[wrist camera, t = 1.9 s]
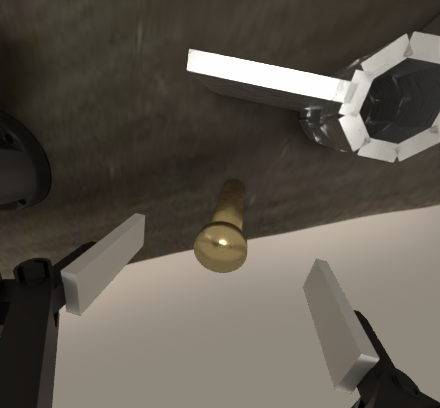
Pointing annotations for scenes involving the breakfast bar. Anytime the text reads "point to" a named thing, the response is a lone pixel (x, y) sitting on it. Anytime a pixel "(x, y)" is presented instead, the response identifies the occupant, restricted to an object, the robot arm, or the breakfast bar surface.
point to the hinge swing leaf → (383, 94)
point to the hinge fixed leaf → (344, 94)
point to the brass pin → (224, 232)
